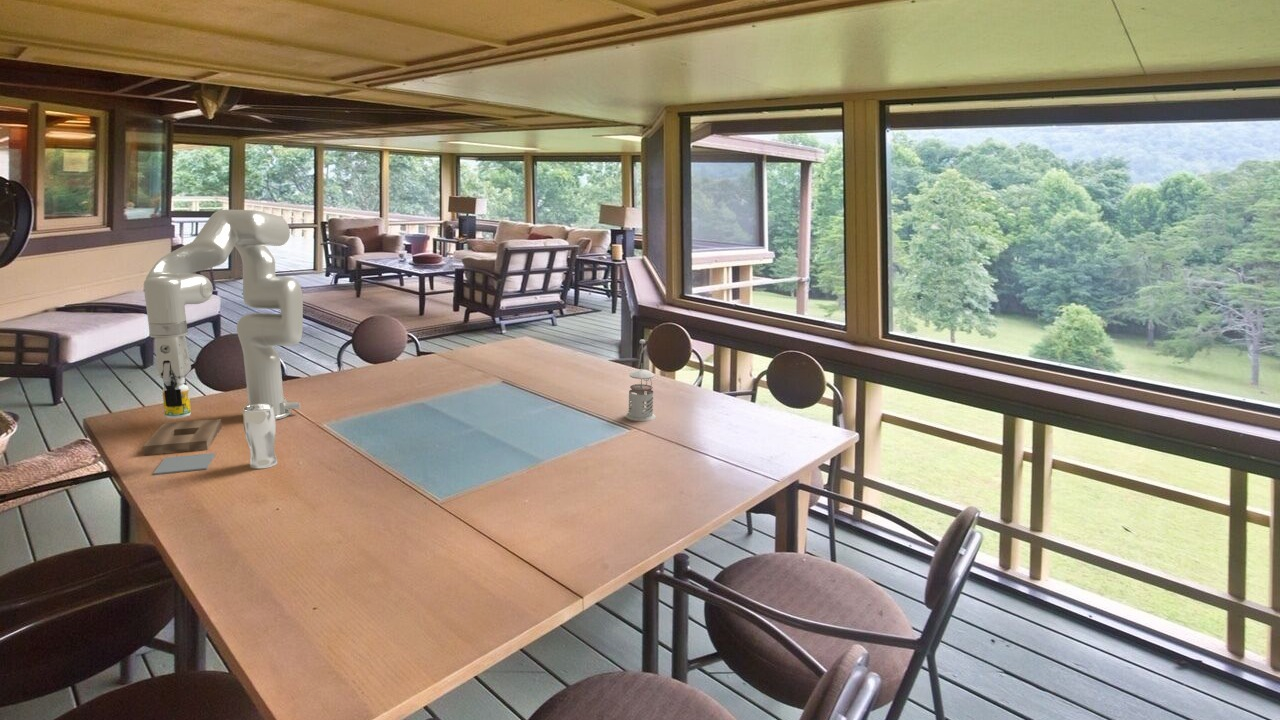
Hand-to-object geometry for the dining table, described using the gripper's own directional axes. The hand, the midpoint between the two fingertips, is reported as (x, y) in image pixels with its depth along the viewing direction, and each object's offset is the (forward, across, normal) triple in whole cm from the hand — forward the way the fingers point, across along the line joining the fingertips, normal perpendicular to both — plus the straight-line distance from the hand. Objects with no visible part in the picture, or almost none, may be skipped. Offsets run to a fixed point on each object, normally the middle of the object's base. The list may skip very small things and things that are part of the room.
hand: (177, 401), depth 169 cm
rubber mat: (+16, 0, 0) cm, 16 cm away
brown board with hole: (+16, +20, +4) cm, 26 cm away
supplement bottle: (+4, 0, 0) cm, 4 cm away
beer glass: (+16, -6, -18) cm, 25 cm away
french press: (+16, +5, -124) cm, 125 cm away
